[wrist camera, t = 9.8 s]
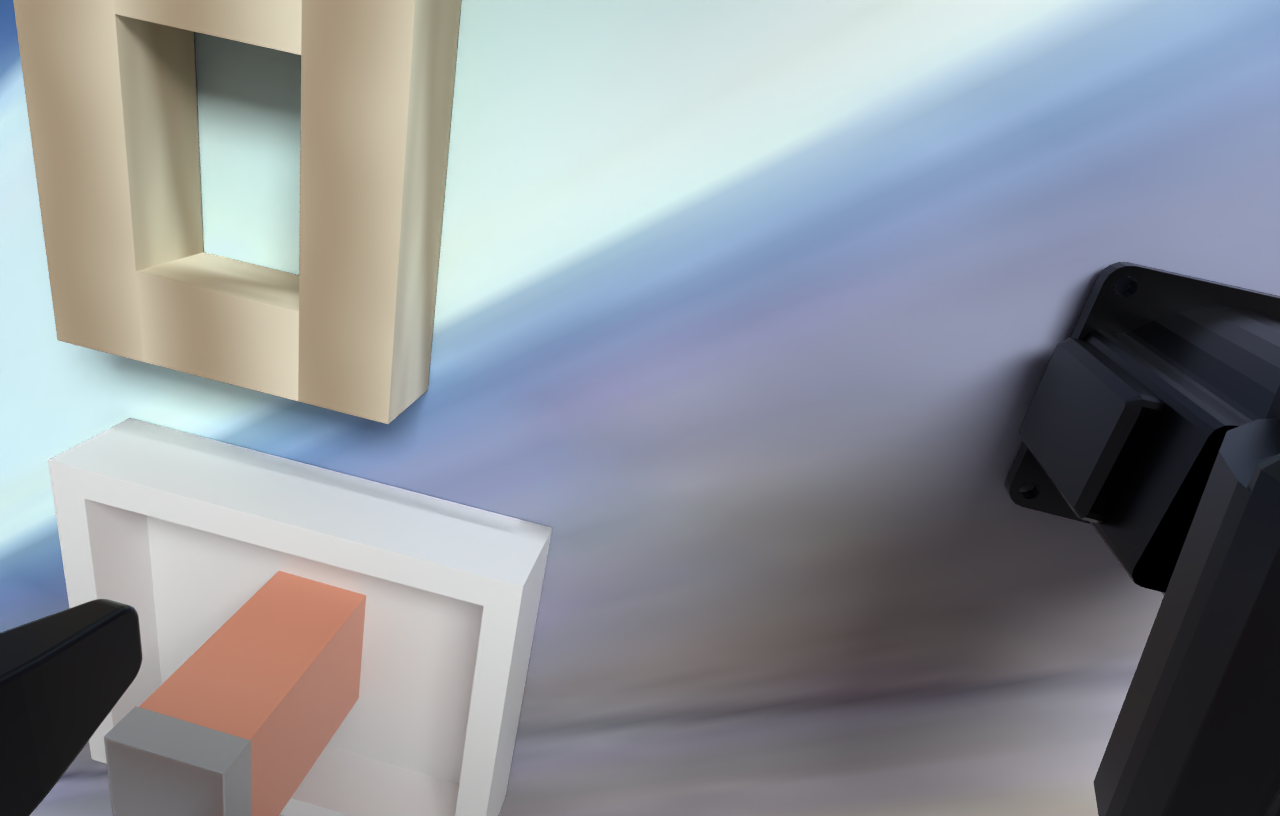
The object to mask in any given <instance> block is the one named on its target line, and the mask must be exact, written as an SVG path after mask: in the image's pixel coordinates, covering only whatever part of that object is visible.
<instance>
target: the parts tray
mask: <svg viewBox="0 0 1280 816" xmlns="http://www.w3.org/2000/svg"><path fill="white" fill-rule="evenodd" d="M48 463H49V470H50V477H51V484H52V491H53V497H54V504H55V511H56V518H57V525H58V532H59V539H60V545H61V552H62V559H63V566H64V573H65V580H66V586H67V593H68V600H69V607H70V608H72V607H75V606H78V605H81V604H83V603H86V602H89V601H92V600H96V599H108V600H112V601H116V602H119V603H123V604H127V605H130V606H132V607H134V608H135V610H136V611H137V613H138V616H139V625H140V635H141V645H142V664H141V667H140V670H139V672H138V674H137V676H136V678H135V679H134V681H133V682H132V684H131V685H130V686H129V688H128V689H127V690H126V692H125V693H124V694H123V696H122V697H121V698H120V699H119V701H118V702H117V703H116V705H115V706H114V707H113V709H112V710H111V711H110V713H109V714H108V715H107V717H106V718H105V719H104V721H103V722H102V723H101V725H100V726H99V727H98V729H97V730H96V731H95V733H94V734H93V735H92V737H91V738H90V739H89V744H90V751H91V757H92V759H93V760H96V761H100V762H103V763H106V764H107V762H106V753H105V745H104V736H105V735H106V734H107V733H108V732H109V731H110V730H111V729H112V728H113V727H114V726H115V725H117V724H118V723H119V722H120V721H121V720H122V719H123V718H124V717H125V716H126V715H127V714H128V713H129V712H130V711H131V710H132V709H133V708H134V707H135V706H137V707H139V706H140V705H141V704H142V703H143V702H144V701H145V700H146V699H147V698H148V697H149V696H150V695H151V694H153V693H154V692H155V691H156V690H157V689H158V688H159V687H160V686H161V685H162V684H163V683H164V682H165V681H166V680H167V679H168V678H169V677H170V676H171V675H172V674H173V673H174V672H175V671H176V670H177V669H178V668H179V667H180V666H181V665H182V664H183V663H184V662H185V661H186V660H187V659H188V658H189V657H191V656H192V655H193V654H194V653H195V652H196V651H197V650H198V649H199V648H200V647H201V646H202V645H203V644H204V643H205V642H206V641H207V640H208V639H209V638H210V637H211V636H212V635H213V634H214V633H215V632H216V631H217V630H218V629H219V628H220V627H221V626H222V625H223V624H224V623H225V622H226V621H227V620H229V619H230V618H231V617H232V616H233V615H234V614H235V613H236V612H237V611H238V610H239V609H240V608H241V607H242V606H243V605H244V604H245V603H246V602H247V601H248V600H249V599H250V598H251V597H252V596H253V595H254V594H255V593H256V592H257V591H258V590H259V589H260V588H261V587H262V586H263V585H264V584H265V583H267V582H268V581H269V580H270V579H271V578H272V577H273V576H274V575H275V574H276V573H277V572H278V571H282V572H286V573H289V574H293V575H296V576H300V577H303V578H307V579H310V580H314V581H317V582H321V583H325V584H328V585H332V586H335V587H339V588H342V589H346V590H349V591H353V592H356V593H360V594H363V595H366V605H365V619H364V633H363V646H362V660H361V674H360V687H359V698H358V700H357V701H356V703H355V704H354V706H353V707H352V709H351V710H350V712H349V713H348V715H347V716H346V718H345V719H344V720H343V722H342V723H341V725H340V726H339V728H338V729H337V731H336V732H335V734H334V735H333V737H332V738H331V740H330V741H329V743H328V744H327V745H326V747H325V748H324V750H323V751H322V753H321V754H320V756H319V757H318V759H317V760H316V762H315V763H314V765H313V766H312V768H311V769H310V770H309V772H308V773H307V775H306V776H305V778H304V779H303V781H302V782H301V784H300V785H299V787H298V788H297V790H296V791H295V793H294V794H293V795H292V797H291V798H290V800H289V801H288V803H287V804H286V806H285V807H284V809H283V810H282V812H281V813H280V815H283V816H498V815H499V813H500V810H501V807H502V805H503V802H504V800H505V797H506V792H507V786H508V780H509V774H510V769H511V763H512V757H513V751H514V746H515V740H516V734H517V728H518V723H519V717H520V711H521V706H522V700H523V694H524V688H525V683H526V677H527V671H528V665H529V660H530V654H531V648H532V642H533V637H534V631H535V625H536V620H537V614H538V608H539V602H540V597H541V591H542V585H543V579H544V574H545V568H546V562H547V557H548V551H549V545H550V539H551V534H552V528H551V527H547V526H543V525H539V524H535V523H531V522H528V521H524V520H520V519H516V518H512V517H508V516H505V515H501V514H497V513H493V512H489V511H485V510H481V509H478V508H474V507H470V506H466V505H462V504H458V503H455V502H451V501H447V500H443V499H439V498H435V497H432V496H428V495H424V494H420V493H416V492H412V491H408V490H405V489H401V488H397V487H393V486H389V485H385V484H382V483H378V482H374V481H370V480H366V479H362V478H359V477H355V476H351V475H347V474H343V473H339V472H335V471H332V470H328V469H324V468H320V467H316V466H312V465H309V464H305V463H301V462H297V461H293V460H289V459H286V458H282V457H278V456H274V455H270V454H266V453H262V452H259V451H255V450H251V449H247V448H243V447H239V446H236V445H232V444H228V443H224V442H220V441H216V440H212V439H209V438H205V437H201V436H197V435H193V434H189V433H186V432H182V431H178V430H174V429H170V428H166V427H163V426H159V425H155V424H151V423H147V422H143V421H139V420H136V419H132V418H129V419H127V420H125V421H123V422H121V423H119V424H117V425H115V426H113V427H111V428H109V429H107V430H105V431H104V432H102V433H100V434H98V435H96V436H94V437H92V438H90V439H88V440H86V441H84V442H82V443H80V444H78V445H76V446H74V447H72V448H70V449H68V450H66V451H64V452H62V453H60V454H58V455H57V456H55V457H53V458H51V459H49V460H48Z"/></svg>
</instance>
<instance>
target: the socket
mask: <svg viewBox="0 0 1280 816" xmlns="http://www.w3.org/2000/svg"><path fill="white" fill-rule="evenodd" d="M13 2H14V9H15V17H16V25H17V32H18V40H19V48H20V55H21V63H22V71H23V78H24V86H25V94H26V101H27V109H28V117H29V124H30V132H31V140H32V147H33V155H34V163H35V170H36V178H37V186H38V193H39V201H40V209H41V216H42V224H43V232H44V239H45V247H46V255H47V262H48V270H49V278H50V285H51V293H52V301H53V308H54V316H55V324H56V331H57V339H58V340H59V341H63V342H67V343H71V344H75V345H79V346H83V347H87V348H91V349H94V350H98V351H102V352H106V353H110V354H114V355H118V356H122V357H126V358H130V359H134V360H138V361H142V362H146V363H150V364H153V365H157V366H161V367H165V368H169V369H173V370H177V371H181V372H185V373H189V374H193V375H197V376H201V377H205V378H208V379H212V380H216V381H220V382H224V383H228V384H232V385H236V386H240V387H244V388H248V389H252V390H256V391H260V392H264V393H267V394H271V395H275V396H279V397H283V398H287V399H291V400H295V401H299V402H303V403H307V404H311V405H315V406H319V407H322V408H326V409H330V410H334V411H338V412H342V413H346V414H350V415H354V416H358V417H362V418H366V419H370V420H374V421H378V422H381V423H385V424H389V423H390V422H391V421H393V420H394V419H395V418H396V417H397V416H398V415H399V414H401V413H402V412H403V411H404V410H405V409H406V408H407V407H409V406H410V405H411V404H412V403H413V402H414V401H416V400H417V399H418V398H419V397H420V396H421V395H422V394H424V393H425V392H426V391H427V390H428V383H429V371H430V360H431V348H432V336H433V325H434V313H435V302H436V290H437V278H438V267H439V255H440V243H441V232H442V220H443V208H444V197H445V185H446V174H447V162H448V150H449V139H450V127H451V115H452V104H453V92H454V81H455V69H456V57H457V46H458V34H459V22H460V11H461V0H13ZM194 32H198V33H203V34H208V35H212V36H217V37H221V38H226V39H230V40H235V41H239V42H244V43H248V44H253V45H257V46H262V47H266V48H271V49H275V50H280V51H285V52H289V53H294V54H298V55H301V146H300V258H299V275H296V274H292V273H287V272H283V271H279V270H275V269H271V268H267V267H263V266H258V265H254V264H250V263H246V262H242V261H238V260H234V259H230V258H225V257H221V256H217V255H213V254H209V253H205V252H203V229H202V207H201V184H200V161H199V138H198V116H197V93H196V70H195V47H194Z"/></svg>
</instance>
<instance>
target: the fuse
mask: <svg viewBox="0 0 1280 816" xmlns="http://www.w3.org/2000/svg"><path fill="white" fill-rule="evenodd" d="M365 605H366V595H363V594H360V593H356V592H353V591H349V590H346V589H342V588H339V587H335V586H332V585H328V584H325V583H321V582H317V581H314V580H310V579H307V578H303V577H300V576H296V575H293V574H289V573H286V572H282V571H278V572H277V573H276V574H275V575H274V576H273V577H272V578H271V579H270V580H269V581H268V582H267V583H265V584H264V585H263V586H262V587H261V588H260V589H259V590H258V591H257V592H256V593H255V594H254V595H253V596H252V597H251V598H250V599H249V600H248V601H247V602H246V603H245V604H244V605H243V606H242V607H241V608H240V609H239V610H238V611H237V612H236V613H235V614H234V615H233V616H232V617H231V618H230V619H229V620H227V621H226V622H225V623H224V624H223V625H222V626H221V627H220V628H219V629H218V630H217V631H216V632H215V633H214V634H213V635H212V636H211V637H210V638H209V639H208V640H207V641H206V642H205V643H204V644H203V645H202V646H201V647H200V648H199V649H198V650H197V651H196V652H195V653H194V654H193V655H192V656H191V657H189V658H188V659H187V660H186V661H185V662H184V663H183V664H182V665H181V666H180V667H179V668H178V669H177V670H176V671H175V672H174V673H173V674H172V675H171V676H170V677H169V678H168V679H167V680H166V681H165V682H164V683H163V684H162V685H161V686H160V687H159V688H158V689H157V690H156V691H155V692H154V693H153V694H151V695H150V696H149V697H148V698H147V699H146V700H145V701H144V702H143V703H142V704H141V705H140V706H139V707H137V706H135V707H134V708H133V709H132V710H131V711H130V712H129V713H128V714H127V715H126V716H125V717H124V718H123V719H122V720H121V721H120V722H119V723H118V724H117V725H115V726H114V727H113V728H112V729H111V730H110V731H109V732H108V733H107V734H106V735H105V736H104V745H105V753H106V762H107V770H108V779H109V787H110V796H111V804H112V813H113V816H279V815H280V813H281V812H282V810H283V809H284V807H285V806H286V804H287V803H288V801H289V800H290V798H291V797H292V795H293V794H294V793H295V791H296V790H297V788H298V787H299V785H300V784H301V782H302V781H303V779H304V778H305V776H306V775H307V773H308V772H309V770H310V769H311V768H312V766H313V765H314V763H315V762H316V760H317V759H318V757H319V756H320V754H321V753H322V751H323V750H324V748H325V747H326V745H327V744H328V743H329V741H330V740H331V738H332V737H333V735H334V734H335V732H336V731H337V729H338V728H339V726H340V725H341V723H342V722H343V720H344V719H345V718H346V716H347V715H348V713H349V712H350V710H351V709H352V707H353V706H354V704H355V703H356V701H357V700H358V698H359V687H360V674H361V660H362V646H363V633H364V619H365Z"/></svg>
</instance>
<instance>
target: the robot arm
mask: <svg viewBox="0 0 1280 816" xmlns="http://www.w3.org/2000/svg"><path fill="white" fill-rule="evenodd" d="M1124 276H1129V277H1130V279H1131V282H1130V286H1129V287H1128V289H1127V290H1126V291H1124V292H1122V293H1120V294H1115V293H1114V291H1113V290H1114V284H1115V283H1116V282H1117V281H1118V279H1120V278H1122V277H1124ZM1019 434H1020V436H1021V438H1022V440H1023V442H1022V445H1021V447H1020V449H1019V451H1018V453H1017V456H1016V458H1015V460H1014V462H1013V464H1012V467H1011V469H1010V471H1009V473H1008V475H1007V478H1006V481H1005V488H1006V491H1007V493H1008V495H1009V496H1010V498H1011V499H1012V501H1013V502H1014V503H1015V504H1017V505H1020V506H1022V507H1025V508H1029V509H1034V510H1038V511H1042V512H1046V513H1050V514H1054V515H1058V516H1062V517H1066V518H1070V519H1074V520H1078V521H1082V522H1086V523H1090V524H1092V526H1093V527H1094V528H1095V530H1096V531H1097V532H1098V534H1099V535H1100V536H1101V538H1102V539H1103V541H1104V542H1105V543H1106V545H1107V546H1108V547H1109V549H1110V550H1111V551H1112V553H1113V554H1114V555H1115V557H1116V558H1117V560H1118V561H1119V562H1120V564H1121V565H1122V566H1123V568H1124V569H1125V570H1126V572H1127V573H1128V575H1129V576H1130V577H1131V579H1132V580H1133V581H1134V583H1136V584H1137V585H1139V586H1141V587H1144V588H1148V589H1152V590H1156V591H1160V592H1162V593H1163V595H1164V598H1163V600H1162V603H1161V606H1160V608H1159V611H1158V614H1157V616H1156V619H1155V621H1154V624H1153V627H1152V629H1151V632H1150V635H1149V637H1148V640H1147V643H1146V645H1145V648H1144V651H1143V653H1142V656H1141V658H1140V661H1139V664H1138V666H1137V669H1136V672H1135V674H1134V677H1133V680H1132V682H1131V685H1130V687H1129V690H1128V693H1127V695H1126V698H1125V701H1124V703H1123V706H1122V709H1121V711H1120V714H1119V716H1118V719H1117V722H1116V724H1115V727H1114V730H1113V732H1112V735H1111V738H1110V740H1109V743H1108V746H1107V748H1106V751H1105V753H1104V756H1103V759H1102V761H1101V764H1100V767H1099V769H1098V772H1097V775H1096V777H1095V780H1094V787H1095V794H1096V801H1097V808H1098V814H1099V816H1280V296H1277V295H1272V294H1268V293H1263V292H1259V291H1254V290H1250V289H1245V288H1241V287H1236V286H1232V285H1227V284H1223V283H1218V282H1214V281H1209V280H1205V279H1200V278H1196V277H1191V276H1187V275H1182V274H1178V273H1173V272H1169V271H1164V270H1160V269H1155V268H1151V267H1147V266H1142V265H1138V264H1133V263H1129V262H1118V263H1115V264H1112V265H1110V266H1108V267H1107V268H1105V269H1104V270H1103V271H1102V272H1101V273H1100V275H1099V276H1098V278H1097V280H1096V282H1095V284H1094V286H1093V288H1092V291H1091V293H1090V295H1089V297H1088V299H1087V302H1086V304H1085V306H1084V308H1083V310H1082V313H1081V315H1080V317H1079V319H1078V321H1077V324H1076V326H1075V328H1074V330H1073V332H1072V335H1071V337H1070V338H1067V339H1066V340H1064V341H1062V342H1061V343H1059V344H1058V345H1057V346H1056V348H1055V351H1054V353H1053V355H1052V357H1051V360H1050V362H1049V364H1048V366H1047V369H1046V371H1045V373H1044V375H1043V377H1042V380H1041V382H1040V384H1039V386H1038V389H1037V391H1036V393H1035V395H1034V398H1033V400H1032V402H1031V404H1030V406H1029V409H1028V411H1027V413H1026V415H1025V418H1024V420H1023V422H1022V424H1021V427H1020V429H1019ZM1027 482H1035V486H1034V487H1033V489H1032V490H1029V491H1027V492H1021V491H1019V490H1020V487H1021V486H1022V485H1023V484H1024V483H1027ZM141 664H142V645H141V635H140V625H139V616H138V613H137V611H136V610H135V608H134V607H132V606H130V605H127V604H123V603H119V602H116V601H112V600H108V599H96V600H92V601H89V602H86V603H83V604H81V605H78V606H75V607H72V608H69V609H66V610H64V611H61V612H58V613H55V614H52V615H49V616H47V617H44V618H41V619H38V620H35V621H32V622H30V623H27V624H24V625H21V626H18V627H15V628H12V629H10V630H7V631H4V632H1V633H0V816H29V815H30V814H31V813H32V812H33V811H34V810H35V808H36V807H37V806H38V805H39V804H40V803H41V801H42V800H43V799H44V798H45V797H46V795H47V794H48V793H49V792H50V790H51V789H52V788H53V787H54V785H55V784H56V783H57V782H58V780H59V779H60V778H61V777H62V775H63V774H64V773H65V771H66V770H67V769H68V767H69V766H70V765H71V763H72V762H73V761H74V759H75V758H76V757H77V755H78V754H79V753H80V751H81V750H82V749H83V747H84V746H85V745H86V743H87V742H88V741H89V739H90V738H91V737H92V735H93V734H94V733H95V731H96V730H97V729H98V727H99V726H100V725H101V723H102V722H103V721H104V719H105V718H106V717H107V715H108V714H109V713H110V711H111V710H112V709H113V707H114V706H115V705H116V703H117V702H118V701H119V699H120V698H121V697H122V696H123V694H124V693H125V692H126V690H127V689H128V688H129V686H130V685H131V684H132V682H133V681H134V679H135V678H136V676H137V674H138V672H139V670H140V667H141Z"/></svg>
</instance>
